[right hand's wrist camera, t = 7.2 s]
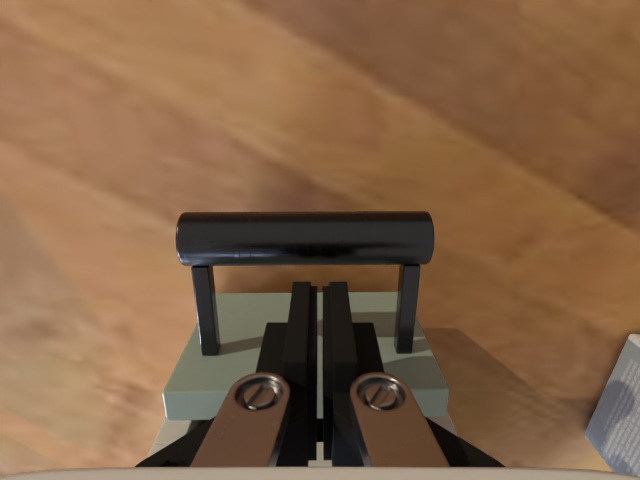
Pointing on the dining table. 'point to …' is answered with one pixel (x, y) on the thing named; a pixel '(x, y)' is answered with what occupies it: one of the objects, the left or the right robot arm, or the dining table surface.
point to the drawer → (260, 308)
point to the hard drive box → (620, 413)
